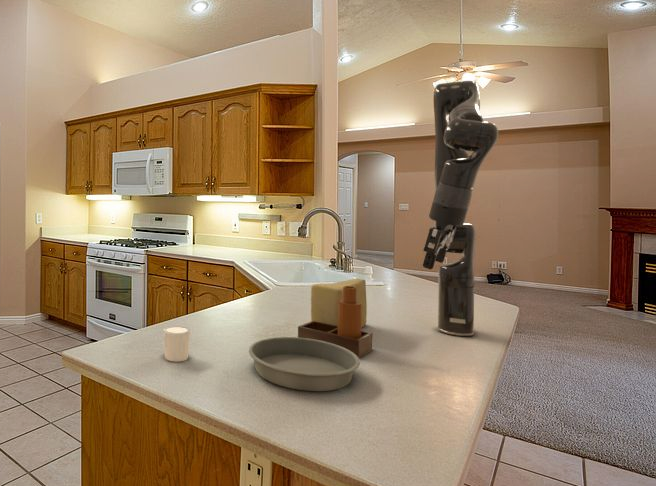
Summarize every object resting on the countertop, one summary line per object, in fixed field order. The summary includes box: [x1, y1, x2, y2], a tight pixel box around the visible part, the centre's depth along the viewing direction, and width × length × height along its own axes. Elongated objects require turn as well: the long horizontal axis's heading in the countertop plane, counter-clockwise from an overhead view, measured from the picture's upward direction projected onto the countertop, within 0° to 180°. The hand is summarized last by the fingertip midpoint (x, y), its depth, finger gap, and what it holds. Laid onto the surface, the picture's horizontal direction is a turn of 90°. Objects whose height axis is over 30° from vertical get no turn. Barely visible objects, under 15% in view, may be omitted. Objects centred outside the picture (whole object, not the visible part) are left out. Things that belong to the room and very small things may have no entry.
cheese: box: [310, 278, 368, 328], centre depth 137 cm, size 22×10×15 cm, turn 128°
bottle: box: [338, 286, 362, 339], centre depth 119 cm, size 6×6×16 cm
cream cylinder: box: [162, 325, 191, 363], centre depth 112 cm, size 7×7×7 cm
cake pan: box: [248, 336, 361, 392], centre depth 103 cm, size 25×25×4 cm
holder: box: [297, 321, 373, 359], centre depth 122 cm, size 9×17×5 cm, turn 46°
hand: (433, 264), depth 113 cm, fingers open, 8 cm apart
